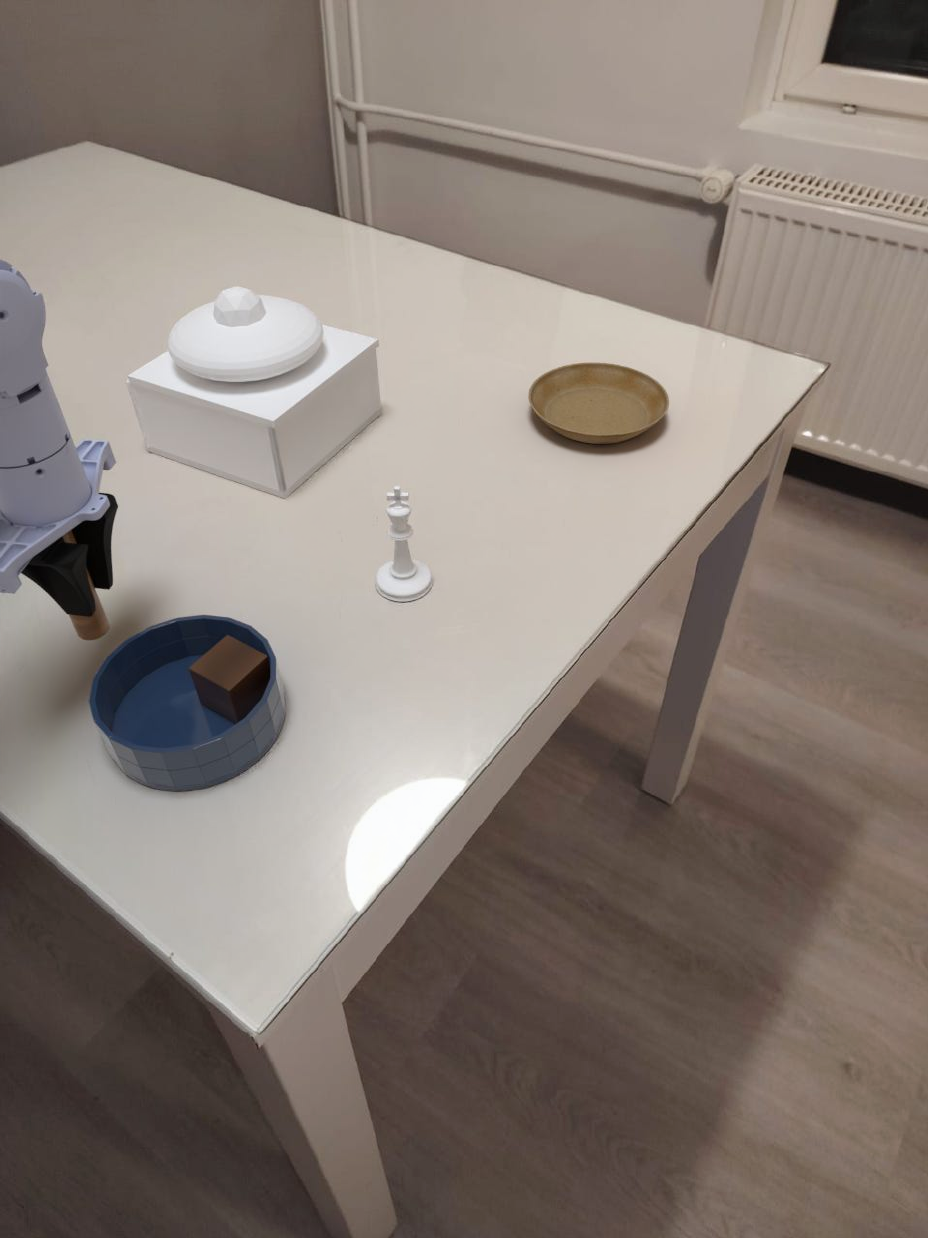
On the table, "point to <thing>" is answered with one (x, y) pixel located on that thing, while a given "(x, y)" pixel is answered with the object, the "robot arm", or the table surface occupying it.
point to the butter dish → (256, 391)
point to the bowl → (180, 707)
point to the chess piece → (402, 557)
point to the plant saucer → (598, 402)
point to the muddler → (98, 621)
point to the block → (231, 678)
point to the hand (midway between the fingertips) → (89, 598)
